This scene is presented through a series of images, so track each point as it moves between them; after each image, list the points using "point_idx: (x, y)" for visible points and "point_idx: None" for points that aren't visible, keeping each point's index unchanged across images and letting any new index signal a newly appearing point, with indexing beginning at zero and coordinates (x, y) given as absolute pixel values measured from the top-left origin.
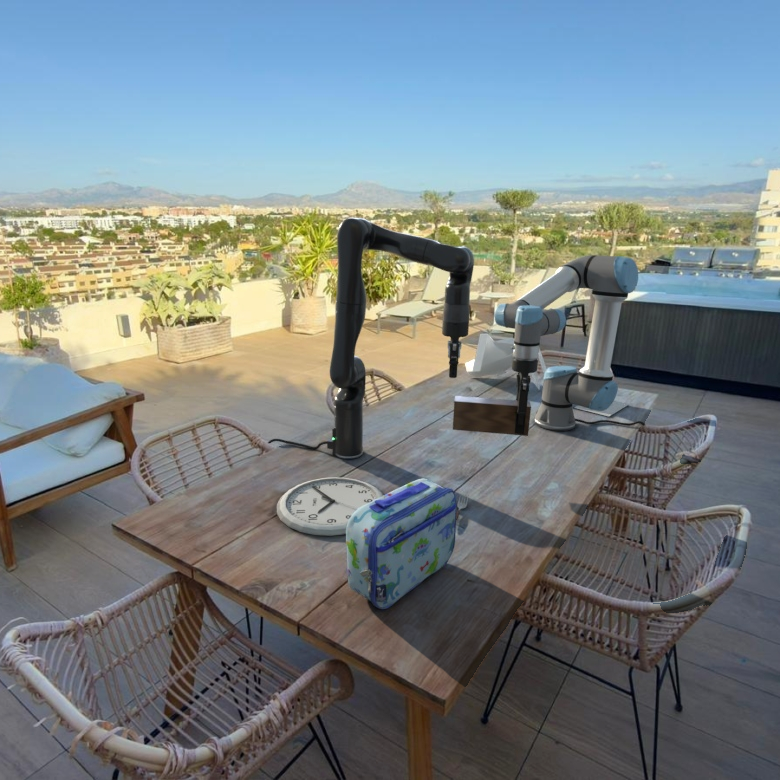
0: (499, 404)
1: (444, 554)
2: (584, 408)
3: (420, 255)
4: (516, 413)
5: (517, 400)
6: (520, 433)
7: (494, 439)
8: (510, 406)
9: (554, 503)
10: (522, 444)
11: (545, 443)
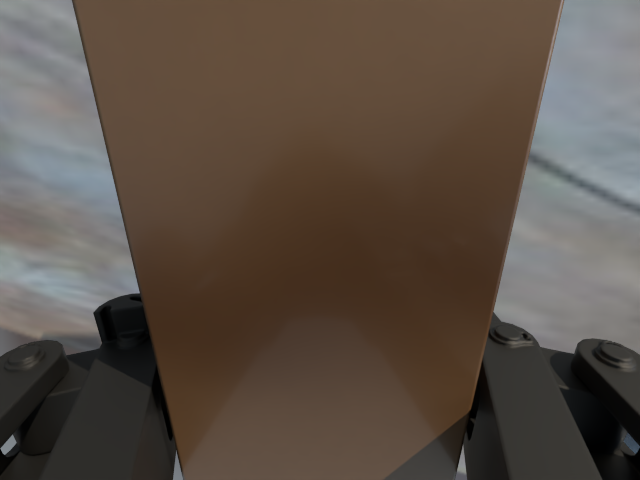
0: (88, 33)
1: None
2: None
3: None
4: (114, 319)
5: (466, 403)
6: None
7: (626, 92)
8: (146, 278)
9: (71, 294)
10: (555, 223)
11: (562, 308)
